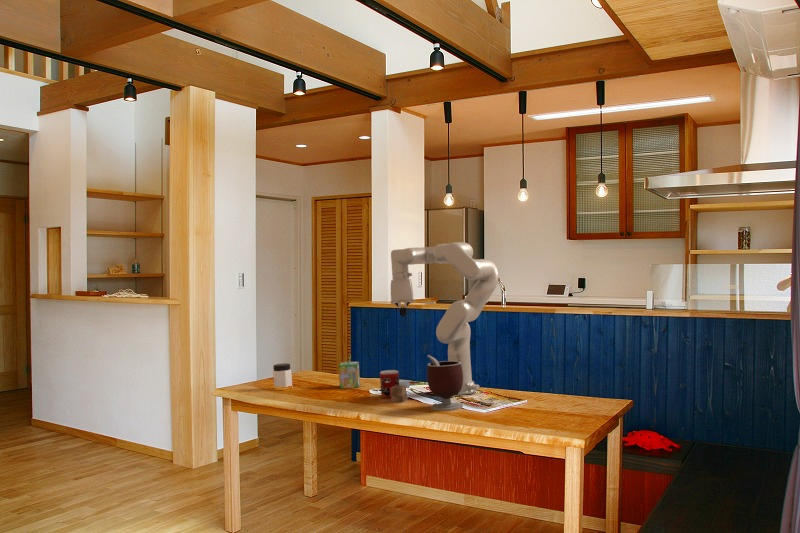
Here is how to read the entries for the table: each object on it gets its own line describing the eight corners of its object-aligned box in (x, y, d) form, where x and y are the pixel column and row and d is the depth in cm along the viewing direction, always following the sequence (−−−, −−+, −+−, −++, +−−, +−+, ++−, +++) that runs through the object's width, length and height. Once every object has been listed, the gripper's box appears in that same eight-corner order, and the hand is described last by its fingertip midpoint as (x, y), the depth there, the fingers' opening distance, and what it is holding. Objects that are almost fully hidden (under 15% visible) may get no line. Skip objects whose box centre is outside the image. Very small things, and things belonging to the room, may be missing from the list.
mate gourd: (472, 405, 260) (468, 354, 260) (448, 412, 250) (445, 359, 250) (442, 401, 271) (439, 352, 271) (418, 408, 261) (415, 357, 261)
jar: (272, 389, 330) (270, 364, 330) (288, 386, 334) (286, 362, 334) (278, 391, 322) (276, 366, 322) (294, 389, 326) (292, 364, 326)
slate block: (409, 391, 298) (409, 380, 298) (399, 394, 295) (398, 382, 295) (401, 390, 303) (400, 379, 303) (391, 392, 299) (390, 381, 299)
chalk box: (341, 385, 326) (339, 355, 326) (360, 384, 326) (358, 354, 326) (339, 389, 317) (337, 358, 317) (358, 388, 316) (356, 356, 316)
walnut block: (407, 399, 280) (406, 385, 280) (403, 402, 276) (402, 387, 276) (395, 399, 282) (394, 385, 282) (391, 402, 277) (390, 387, 277)
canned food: (378, 396, 291) (377, 371, 291) (395, 394, 294) (393, 369, 294) (385, 399, 284) (384, 373, 284) (402, 396, 287) (401, 371, 287)
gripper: (417, 275, 308) (419, 315, 308) (384, 277, 309) (387, 317, 309) (416, 275, 301) (419, 316, 301) (383, 277, 301) (386, 318, 301)
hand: (403, 316), depth 305 cm, fingers closed
